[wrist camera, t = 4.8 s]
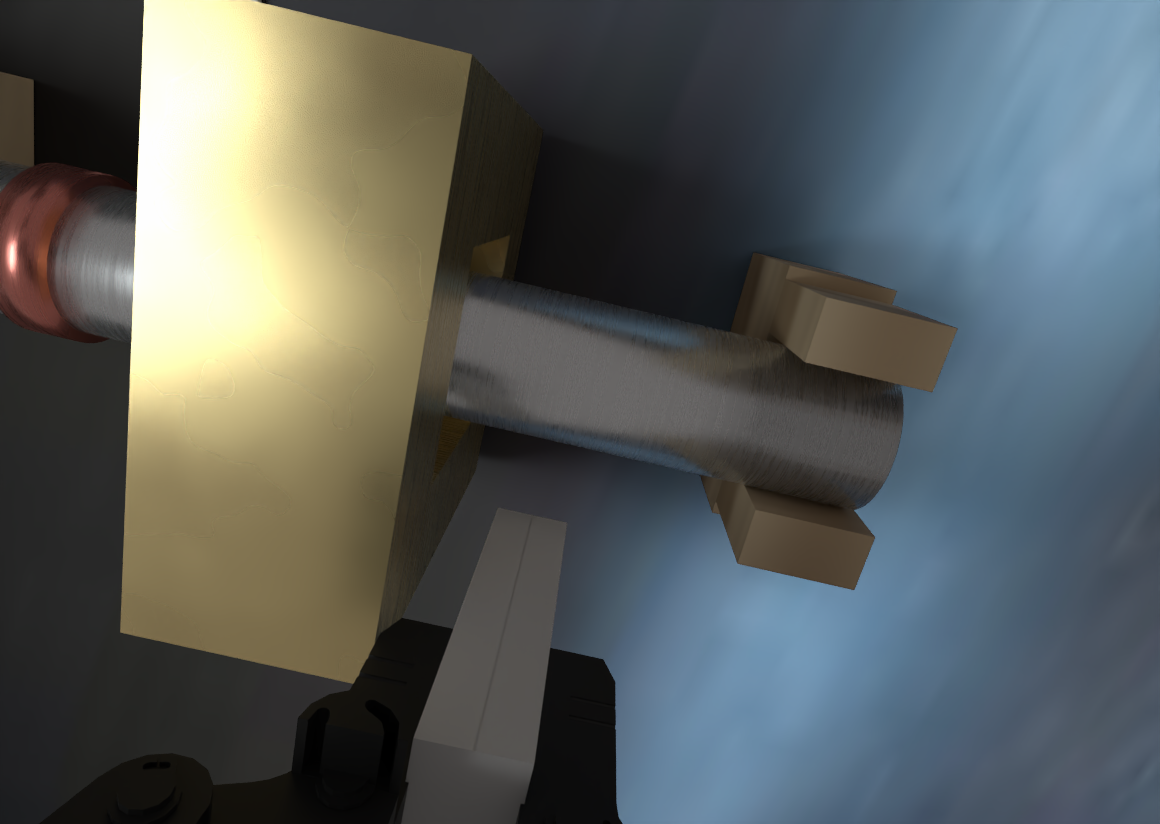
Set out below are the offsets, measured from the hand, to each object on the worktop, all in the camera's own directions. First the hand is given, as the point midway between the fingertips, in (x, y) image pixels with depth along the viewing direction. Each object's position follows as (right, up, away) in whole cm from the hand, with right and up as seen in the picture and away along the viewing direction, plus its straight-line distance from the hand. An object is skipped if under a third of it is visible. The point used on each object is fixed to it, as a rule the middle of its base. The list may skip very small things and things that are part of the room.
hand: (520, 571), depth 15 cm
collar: (-3, +7, +5) cm, 9 cm away
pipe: (-4, +6, +1) cm, 8 cm away
